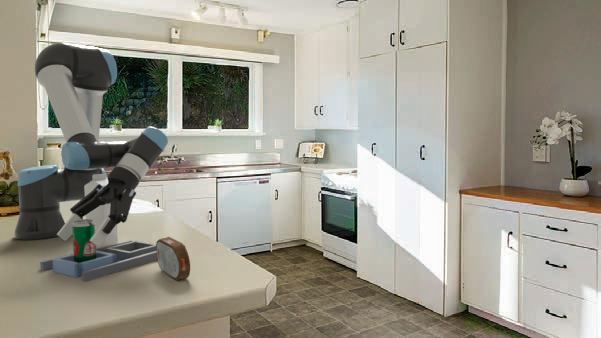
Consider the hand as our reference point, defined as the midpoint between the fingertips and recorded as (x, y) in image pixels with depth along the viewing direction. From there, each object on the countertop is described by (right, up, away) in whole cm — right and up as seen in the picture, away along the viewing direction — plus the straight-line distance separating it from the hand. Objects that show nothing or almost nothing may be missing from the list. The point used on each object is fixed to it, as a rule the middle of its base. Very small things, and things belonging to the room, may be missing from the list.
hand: (77, 240), depth 106 cm
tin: (+24, -8, -4) cm, 26 cm away
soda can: (+1, -8, +2) cm, 8 cm away
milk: (-4, -6, +23) cm, 24 cm away
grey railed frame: (+5, -7, +8) cm, 12 cm away
